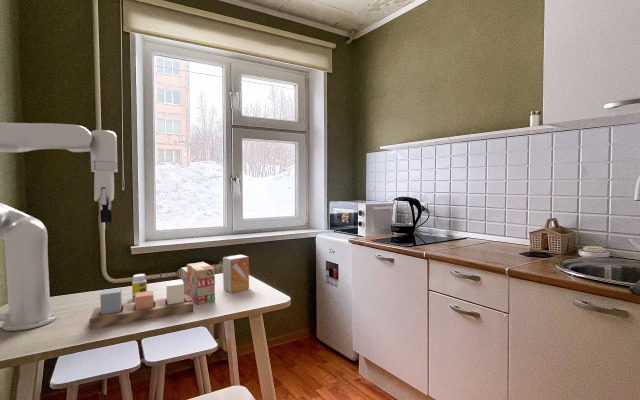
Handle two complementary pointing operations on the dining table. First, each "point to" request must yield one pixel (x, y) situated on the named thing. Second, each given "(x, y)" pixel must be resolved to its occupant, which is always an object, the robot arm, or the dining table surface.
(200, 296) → the stack of blocks
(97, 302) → the dining table surface
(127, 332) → the dining table surface
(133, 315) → the button board
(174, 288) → the button cream
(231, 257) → the small box
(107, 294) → the button slate
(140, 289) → the supplement bottle
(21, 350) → the dining table surface
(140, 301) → the peach block
